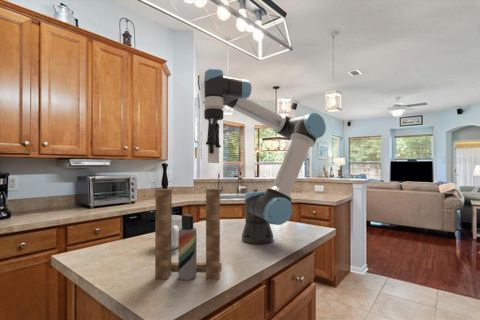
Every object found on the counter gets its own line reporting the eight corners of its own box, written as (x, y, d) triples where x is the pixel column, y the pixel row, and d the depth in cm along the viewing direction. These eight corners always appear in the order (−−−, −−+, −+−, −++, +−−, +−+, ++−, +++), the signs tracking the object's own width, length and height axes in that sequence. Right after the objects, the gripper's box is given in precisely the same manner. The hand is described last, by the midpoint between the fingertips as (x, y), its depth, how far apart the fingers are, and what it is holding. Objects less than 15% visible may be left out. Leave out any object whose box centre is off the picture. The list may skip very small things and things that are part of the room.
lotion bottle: (179, 273, 88) (179, 212, 89) (197, 272, 89) (197, 212, 89) (177, 280, 83) (177, 215, 83) (195, 280, 83) (195, 215, 84)
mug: (190, 250, 112) (190, 219, 112) (164, 255, 106) (164, 222, 106) (177, 242, 125) (178, 214, 125) (154, 246, 118) (154, 216, 119)
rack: (221, 268, 92) (221, 187, 93) (218, 279, 83) (218, 189, 84) (164, 268, 93) (164, 187, 94) (155, 279, 84) (155, 189, 85)
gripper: (208, 115, 118) (208, 163, 118) (198, 101, 93) (198, 162, 93) (225, 115, 118) (225, 163, 118) (220, 101, 93) (220, 162, 93)
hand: (213, 163), depth 105 cm, fingers open, 13 cm apart
